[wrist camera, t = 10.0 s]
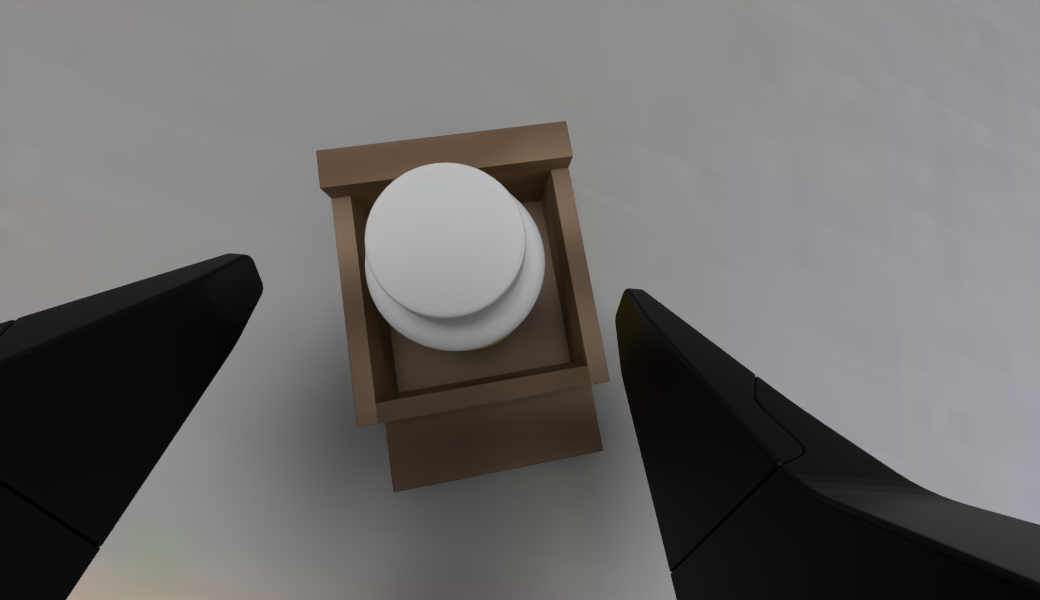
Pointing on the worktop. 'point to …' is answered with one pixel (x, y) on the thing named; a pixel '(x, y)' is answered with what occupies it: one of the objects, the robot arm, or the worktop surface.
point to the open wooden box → (483, 372)
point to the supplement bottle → (452, 257)
